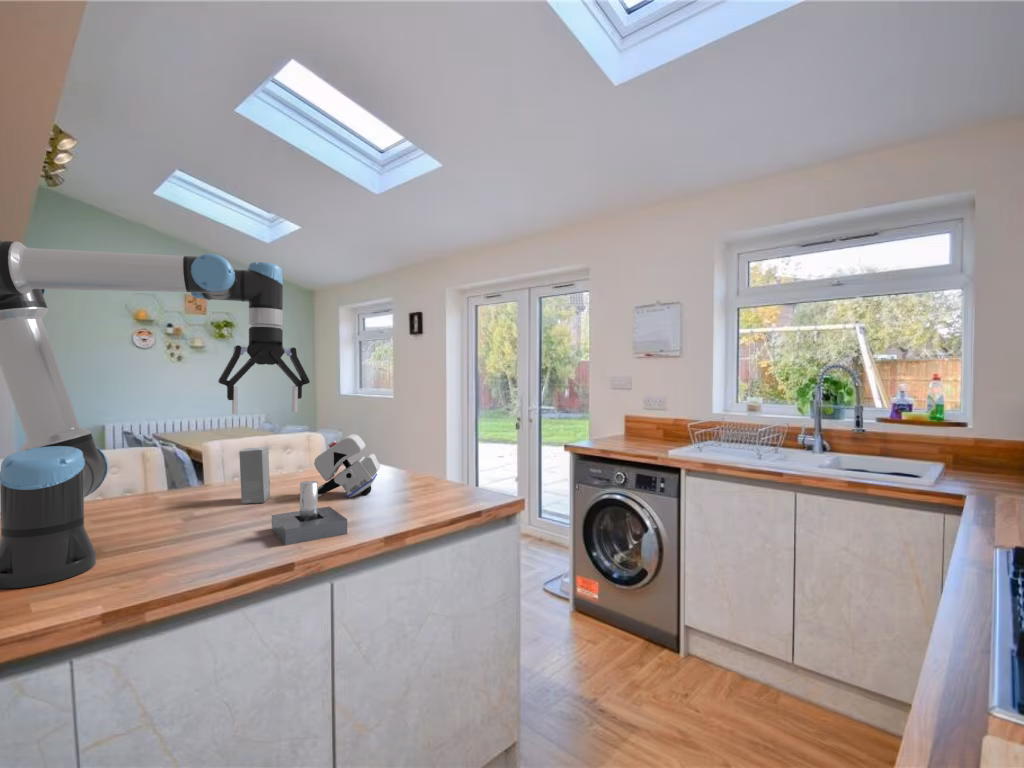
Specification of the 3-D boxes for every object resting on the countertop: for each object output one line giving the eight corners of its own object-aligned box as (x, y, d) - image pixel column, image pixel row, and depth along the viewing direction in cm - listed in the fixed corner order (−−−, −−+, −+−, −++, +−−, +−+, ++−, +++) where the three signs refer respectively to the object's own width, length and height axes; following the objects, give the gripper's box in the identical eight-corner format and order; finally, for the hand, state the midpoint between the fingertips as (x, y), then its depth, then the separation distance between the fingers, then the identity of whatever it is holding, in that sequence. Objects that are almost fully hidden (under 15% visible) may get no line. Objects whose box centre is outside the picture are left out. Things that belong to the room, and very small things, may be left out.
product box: (264, 503, 148) (264, 449, 148) (237, 504, 146) (238, 450, 146) (271, 496, 156) (271, 445, 156) (246, 497, 155) (246, 446, 154)
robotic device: (336, 514, 164) (299, 464, 162) (391, 476, 166) (355, 426, 164) (328, 523, 154) (289, 470, 152) (387, 483, 156) (349, 430, 154)
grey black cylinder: (301, 535, 120) (302, 485, 120) (296, 530, 124) (297, 482, 123) (320, 532, 123) (320, 483, 123) (315, 527, 126) (315, 480, 126)
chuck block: (285, 545, 113) (285, 529, 113) (271, 529, 125) (271, 515, 125) (347, 533, 122) (347, 519, 122) (329, 519, 133) (329, 506, 133)
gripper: (313, 330, 135) (313, 409, 135) (205, 324, 120) (205, 413, 120) (322, 329, 129) (321, 412, 129) (209, 322, 114) (209, 416, 114)
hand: (265, 413), depth 125 cm, fingers open, 13 cm apart
